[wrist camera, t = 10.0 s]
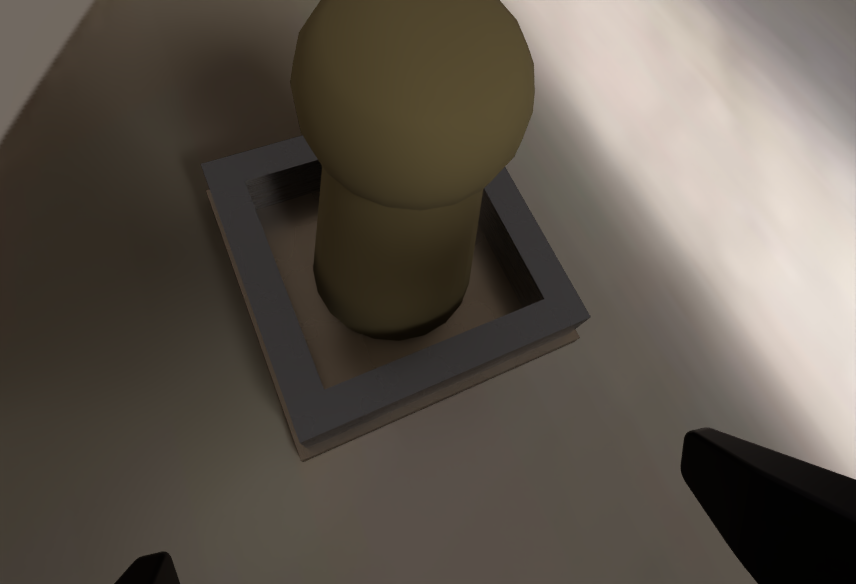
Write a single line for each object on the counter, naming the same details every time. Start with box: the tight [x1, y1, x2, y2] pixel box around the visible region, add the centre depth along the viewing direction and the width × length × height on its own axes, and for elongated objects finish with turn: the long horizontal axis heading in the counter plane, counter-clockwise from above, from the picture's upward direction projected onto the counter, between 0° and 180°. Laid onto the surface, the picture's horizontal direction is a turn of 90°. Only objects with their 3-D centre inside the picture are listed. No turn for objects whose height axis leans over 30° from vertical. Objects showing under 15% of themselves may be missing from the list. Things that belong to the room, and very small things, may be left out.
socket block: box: [201, 135, 590, 462], centre depth 19 cm, size 11×11×3 cm
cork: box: [290, 0, 535, 341], centre depth 15 cm, size 6×6×11 cm
